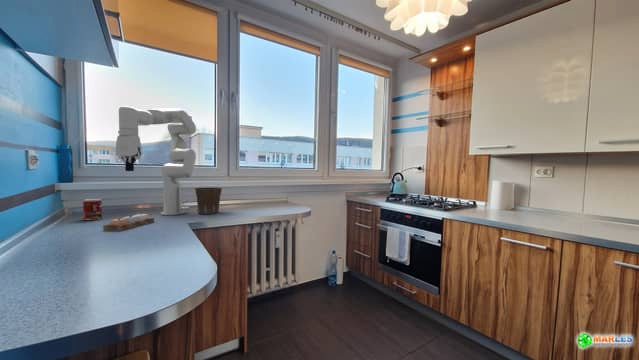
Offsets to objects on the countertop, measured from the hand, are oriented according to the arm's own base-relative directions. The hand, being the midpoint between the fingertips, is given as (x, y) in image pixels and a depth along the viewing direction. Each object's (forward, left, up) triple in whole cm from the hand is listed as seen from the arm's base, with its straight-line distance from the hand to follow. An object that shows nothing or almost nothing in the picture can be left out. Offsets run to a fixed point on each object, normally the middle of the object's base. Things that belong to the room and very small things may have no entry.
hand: (129, 170), depth 126 cm
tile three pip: (+4, +6, -26) cm, 27 cm away
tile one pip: (-4, -4, -26) cm, 27 cm away
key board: (0, +1, -27) cm, 27 cm away
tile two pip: (0, +1, -26) cm, 26 cm away
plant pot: (-39, -21, -27) cm, 52 cm away
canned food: (+19, -29, -27) cm, 44 cm away
